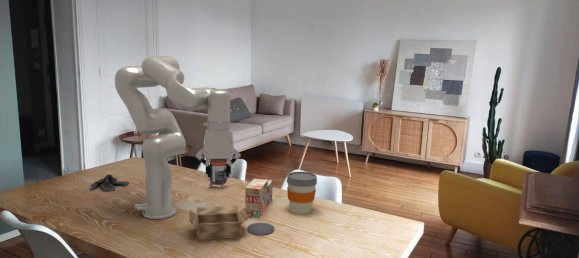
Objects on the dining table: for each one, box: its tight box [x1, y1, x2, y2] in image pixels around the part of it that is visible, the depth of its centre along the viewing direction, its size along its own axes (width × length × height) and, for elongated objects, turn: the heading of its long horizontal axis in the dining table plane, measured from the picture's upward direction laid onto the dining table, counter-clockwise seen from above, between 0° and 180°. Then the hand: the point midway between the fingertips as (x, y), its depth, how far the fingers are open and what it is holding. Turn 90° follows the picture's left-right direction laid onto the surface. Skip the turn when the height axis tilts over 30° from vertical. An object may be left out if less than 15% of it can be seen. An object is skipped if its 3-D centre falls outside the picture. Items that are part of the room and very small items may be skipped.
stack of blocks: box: [244, 178, 273, 219], centre depth 173 cm, size 21×6×12 cm, turn 169°
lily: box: [205, 174, 233, 191], centre depth 196 cm, size 12×12×10 cm
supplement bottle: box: [209, 159, 228, 186], centre depth 144 cm, size 6×6×11 cm
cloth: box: [88, 174, 130, 193], centre depth 194 cm, size 22×19×6 cm
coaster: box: [246, 222, 275, 236], centre depth 152 cm, size 10×10×1 cm
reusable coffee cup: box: [286, 171, 318, 215], centre depth 171 cm, size 13×13×15 cm
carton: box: [188, 205, 249, 241], centre depth 148 cm, size 20×15×7 cm
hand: (218, 175), depth 145 cm, fingers closed on supplement bottle, 6 cm apart
